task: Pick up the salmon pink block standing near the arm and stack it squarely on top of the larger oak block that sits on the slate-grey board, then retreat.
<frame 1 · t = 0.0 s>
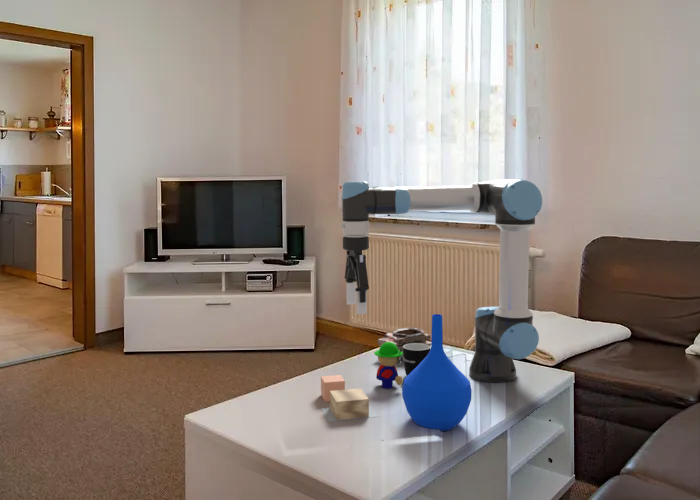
hand: (356, 308, 188), 28 cm above the table, fingers open, 13 cm apart
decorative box: (406, 359, 236), on the table
vase: (436, 425, 173), on the table
board: (349, 416, 180), on the table
mug: (419, 378, 213), on the table
oak brick: (349, 412, 180), point 1 cm above the table, touching board
toy: (389, 390, 202), on the table
salmon pink block: (333, 401, 192), on the table
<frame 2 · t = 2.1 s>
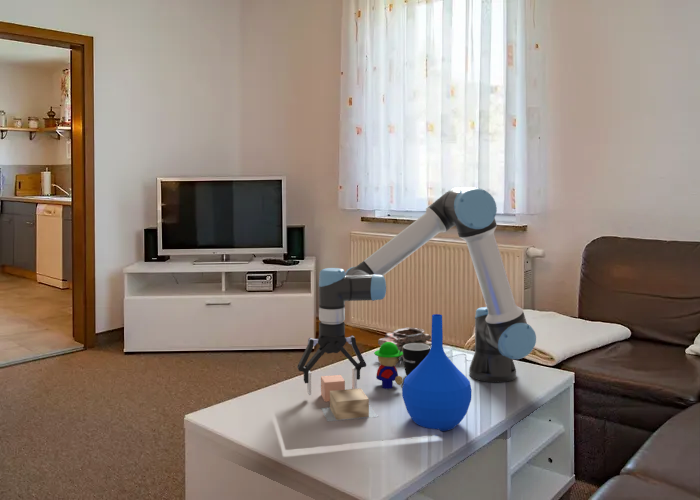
hand: (332, 391, 192), 3 cm above the table, fingers open, 13 cm apart
nothing on the table moved.
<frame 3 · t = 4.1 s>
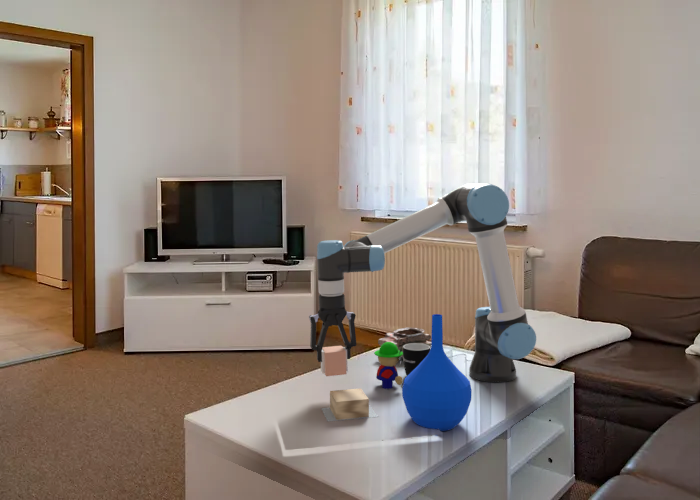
hand: (334, 370, 191), 9 cm above the table, fingers closed on salmon pink block, 6 cm apart
salmon pink block: (334, 372, 191), point 9 cm above the table, touching gripper
everything else where it was.
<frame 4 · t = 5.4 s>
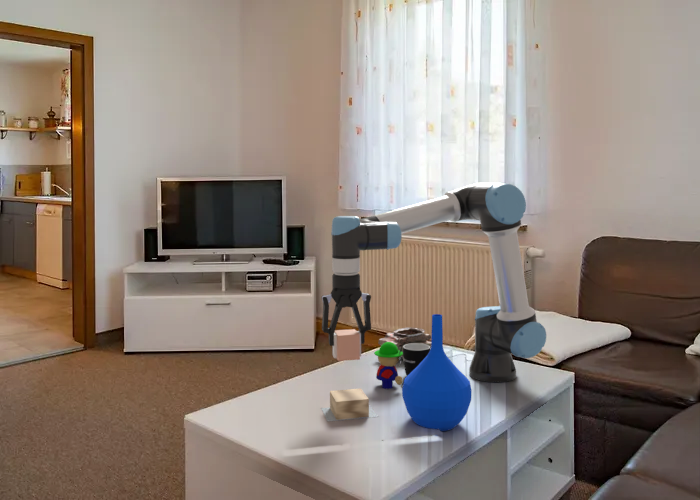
hand: (346, 355, 179), 17 cm above the table, fingers closed on salmon pink block, 6 cm apart
salmon pink block: (346, 357, 179), point 17 cm above the table, touching gripper
everything else where it was.
when the fingers open (7 cm above the table, at t = 7.2 s): salmon pink block stays where it is, resting on oak brick.
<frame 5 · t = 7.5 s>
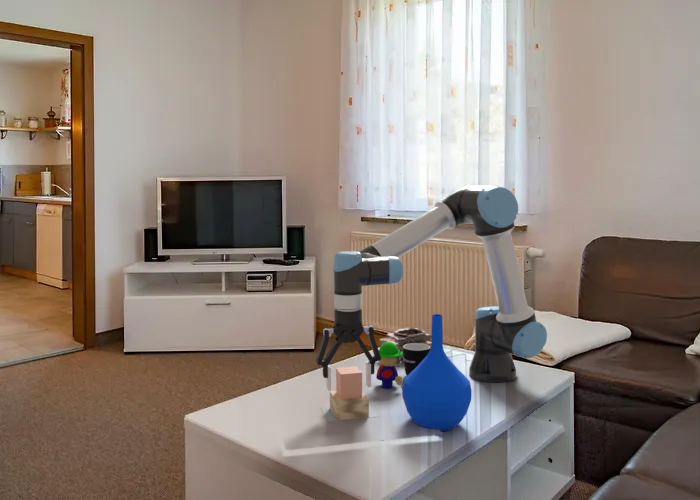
hand: (348, 387, 179), 8 cm above the table, fingers open, 10 cm apart
oak brick: (349, 412, 180), point 1 cm above the table, touching board, salmon pink block
salmon pink block: (349, 394, 179), point 6 cm above the table, touching oak brick
everything else where it was.
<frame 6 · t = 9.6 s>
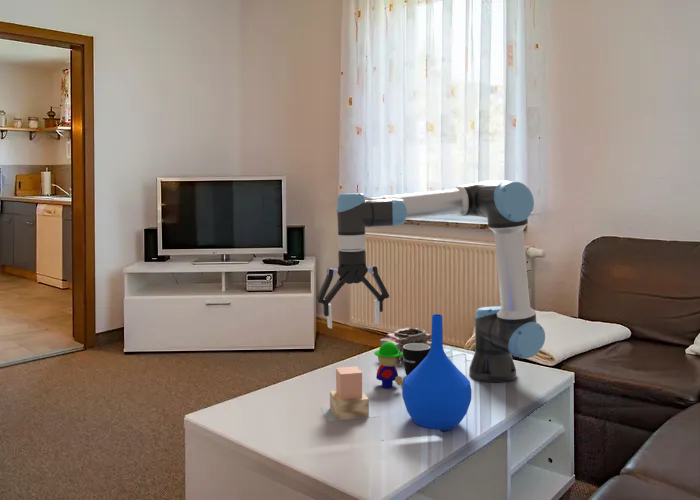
hand: (353, 325, 180), 25 cm above the table, fingers open, 13 cm apart
nothing on the table moved.
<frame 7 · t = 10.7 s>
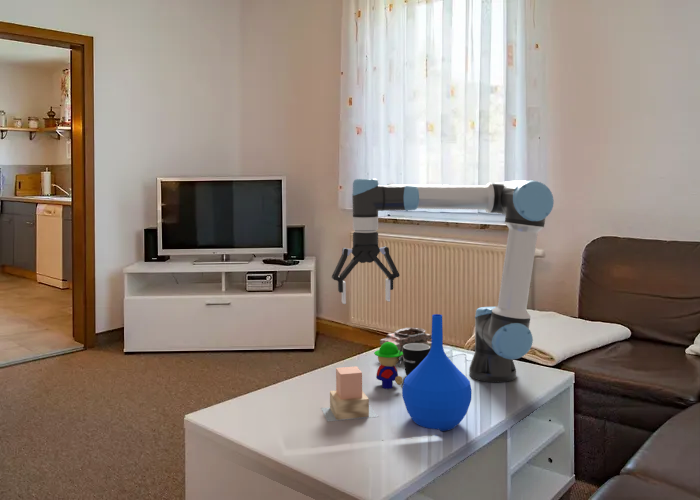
hand: (365, 302, 194), 29 cm above the table, fingers open, 13 cm apart
nothing on the table moved.
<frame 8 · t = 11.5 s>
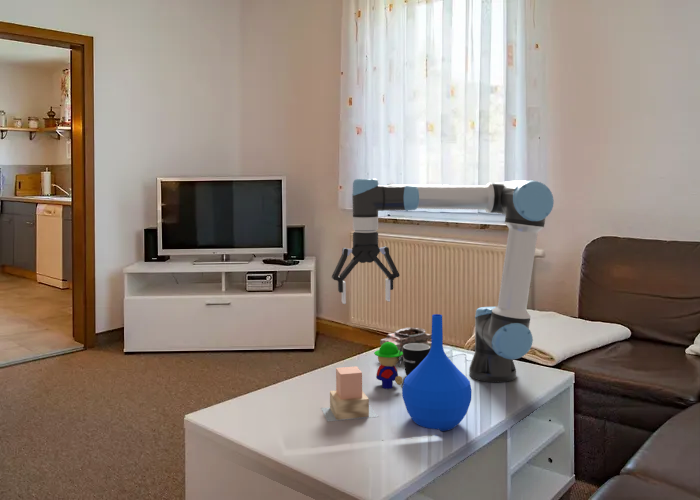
hand: (365, 302, 194), 29 cm above the table, fingers open, 13 cm apart
nothing on the table moved.
at the end: salmon pink block 0.1 cm off-centre on the oak brick, point 5.0 cm above the oak brick's base; salmon pink block tilted 0°; oak brick moved 0.0 cm from its start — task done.
